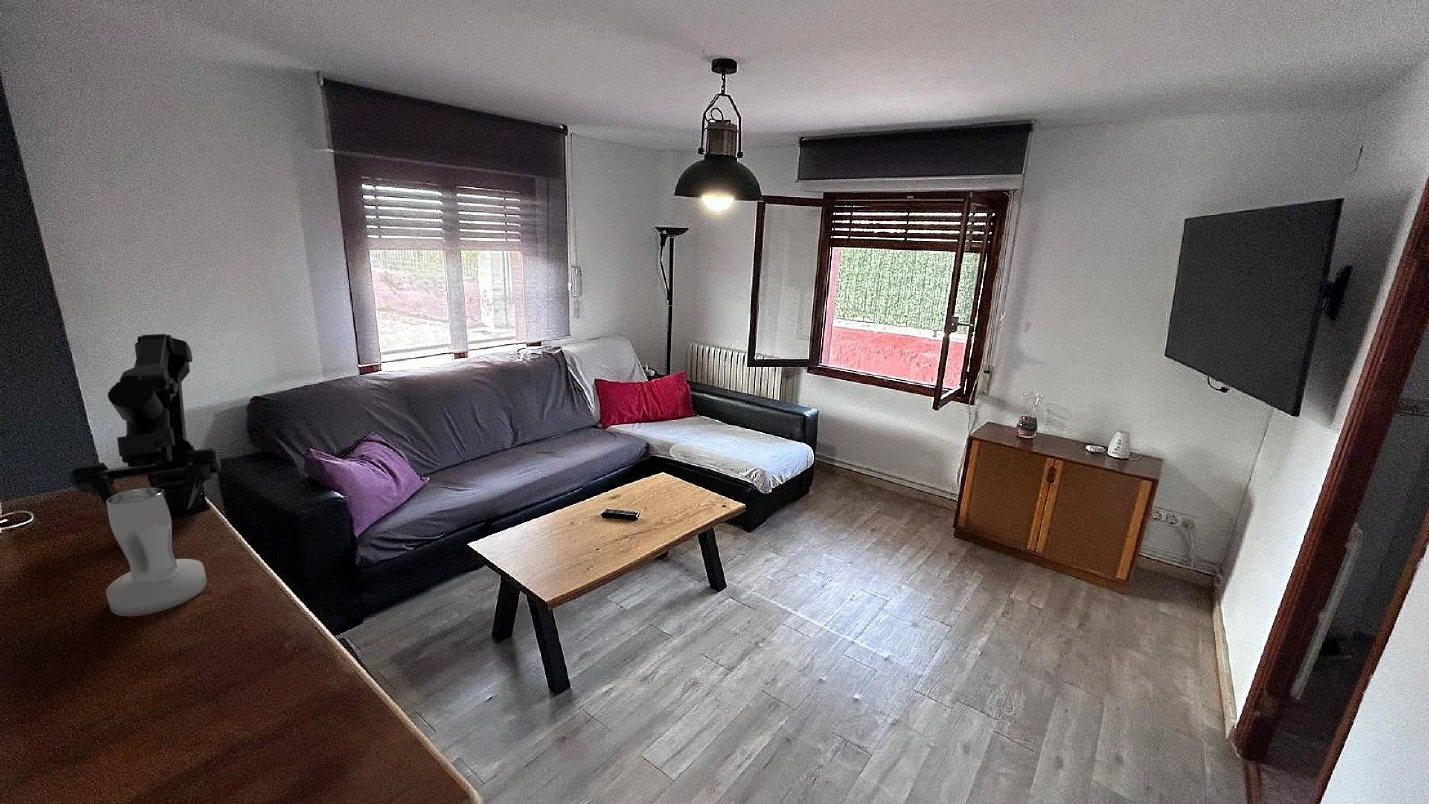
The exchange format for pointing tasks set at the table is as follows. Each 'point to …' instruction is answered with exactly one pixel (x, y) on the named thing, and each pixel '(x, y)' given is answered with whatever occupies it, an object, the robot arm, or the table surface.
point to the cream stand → (156, 591)
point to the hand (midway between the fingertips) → (152, 514)
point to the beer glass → (144, 534)
